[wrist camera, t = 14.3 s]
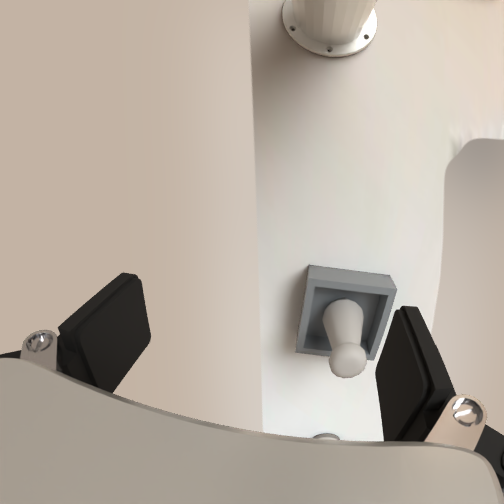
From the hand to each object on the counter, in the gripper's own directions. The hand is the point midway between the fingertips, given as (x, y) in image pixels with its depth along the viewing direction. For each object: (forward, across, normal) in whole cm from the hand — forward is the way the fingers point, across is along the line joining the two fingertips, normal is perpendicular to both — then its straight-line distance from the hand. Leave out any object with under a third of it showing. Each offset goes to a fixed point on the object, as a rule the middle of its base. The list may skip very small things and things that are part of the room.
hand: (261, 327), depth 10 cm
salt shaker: (+29, -8, +17) cm, 35 cm away
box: (+30, -8, +17) cm, 36 cm away
